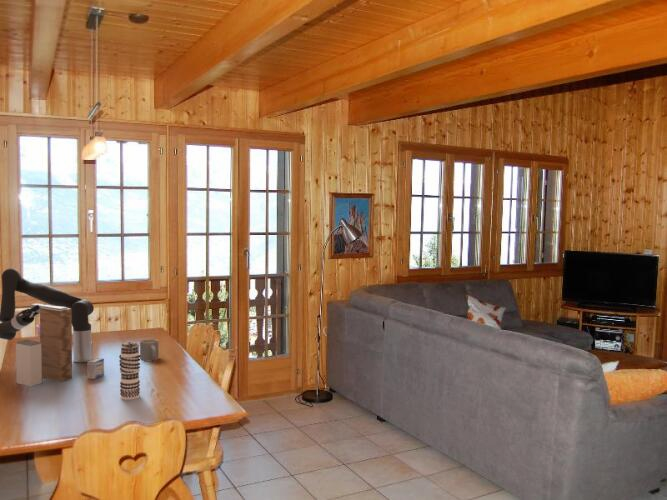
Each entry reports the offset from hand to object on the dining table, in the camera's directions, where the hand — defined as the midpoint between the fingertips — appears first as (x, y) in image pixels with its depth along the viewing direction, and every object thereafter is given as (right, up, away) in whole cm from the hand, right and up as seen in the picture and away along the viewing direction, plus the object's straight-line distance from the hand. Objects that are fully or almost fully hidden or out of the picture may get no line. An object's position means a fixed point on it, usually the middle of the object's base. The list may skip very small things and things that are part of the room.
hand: (42, 305), depth 302 cm
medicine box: (+26, -36, +2) cm, 45 cm away
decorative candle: (+53, -39, -27) cm, 71 cm away
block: (-1, -36, -11) cm, 38 cm away
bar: (+4, -3, -2) cm, 5 cm away
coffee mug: (+42, -34, +37) cm, 66 cm away
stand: (+8, -36, -1) cm, 37 cm away
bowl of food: (-26, -29, +68) cm, 79 cm away
